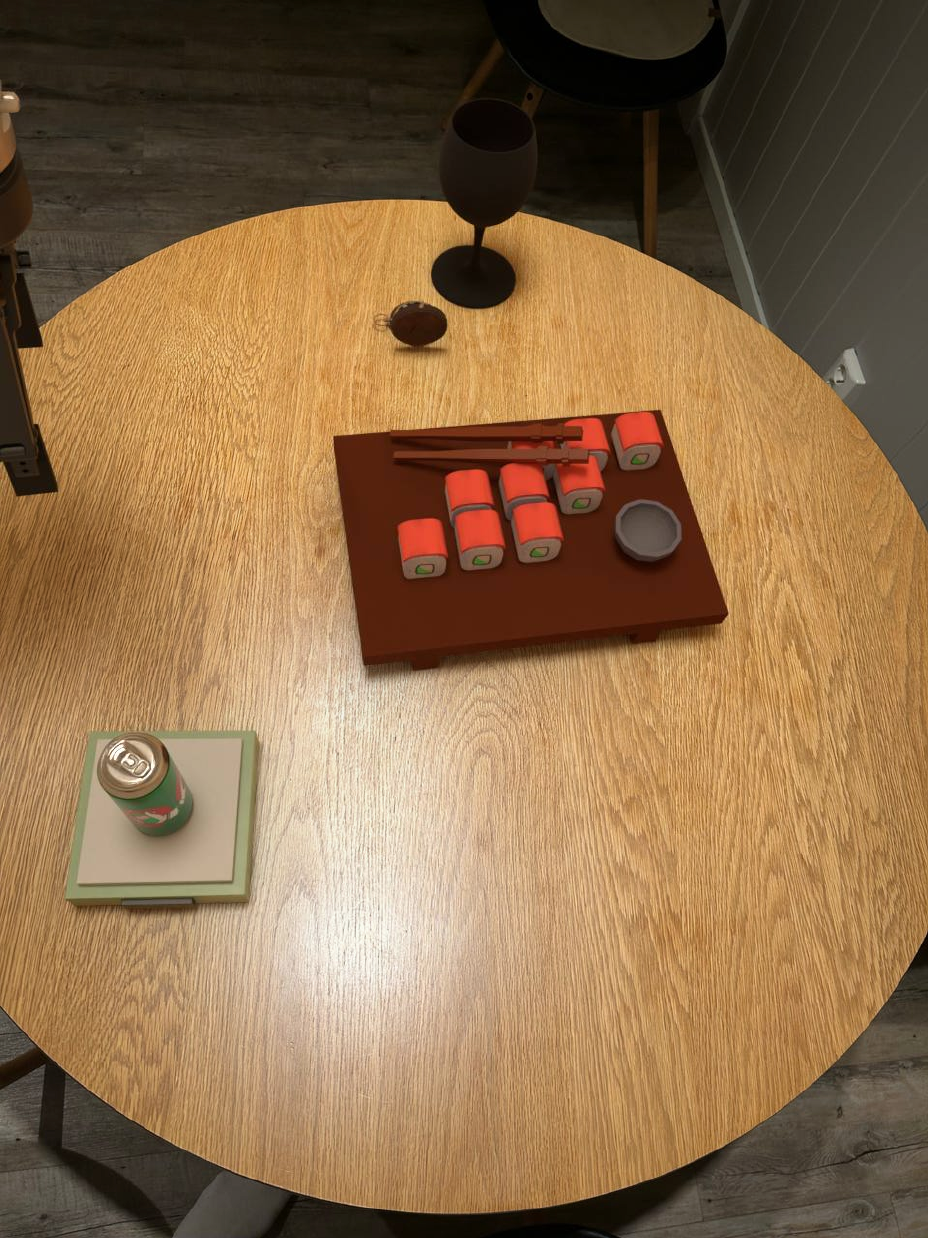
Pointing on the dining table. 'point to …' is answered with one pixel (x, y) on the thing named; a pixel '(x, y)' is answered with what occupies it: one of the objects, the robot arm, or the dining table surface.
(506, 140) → the wine glass
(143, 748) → the soda can
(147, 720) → the dining table surface
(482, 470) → the sushi
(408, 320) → the compass
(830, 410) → the dining table surface
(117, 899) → the scale
